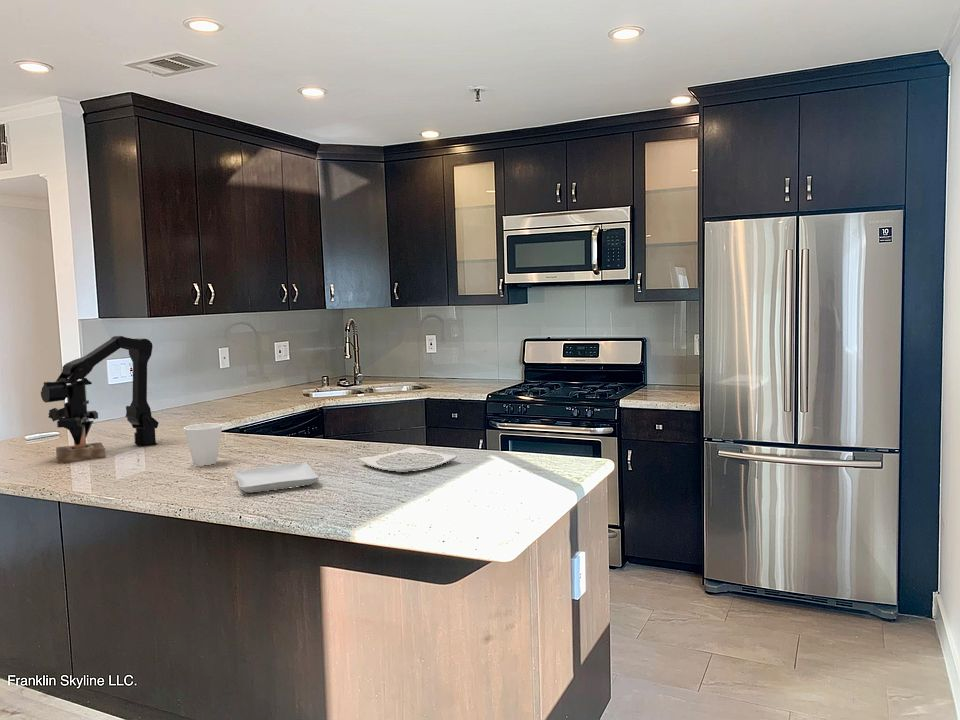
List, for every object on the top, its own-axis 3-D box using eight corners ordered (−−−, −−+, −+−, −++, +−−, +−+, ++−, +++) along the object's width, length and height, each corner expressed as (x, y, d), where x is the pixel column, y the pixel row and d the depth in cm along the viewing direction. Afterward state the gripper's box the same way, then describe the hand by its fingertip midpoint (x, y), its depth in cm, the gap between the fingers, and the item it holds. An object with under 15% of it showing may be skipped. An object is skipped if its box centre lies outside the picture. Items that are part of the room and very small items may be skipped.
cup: (232, 460, 234) (230, 423, 233) (207, 469, 222) (205, 430, 221) (203, 459, 237) (200, 422, 236) (177, 467, 226) (174, 428, 225)
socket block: (101, 451, 256) (101, 441, 255) (105, 457, 244) (104, 447, 244) (56, 456, 248) (55, 446, 248) (58, 463, 236) (57, 453, 236)
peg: (86, 451, 248) (84, 426, 248) (87, 453, 245) (85, 427, 245) (74, 453, 246) (72, 427, 246) (75, 454, 243) (73, 428, 243)
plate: (413, 453, 240) (413, 445, 239) (463, 464, 222) (463, 455, 222) (352, 466, 223) (352, 458, 222) (401, 479, 205) (401, 470, 205)
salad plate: (240, 498, 188) (239, 486, 188) (233, 481, 208) (232, 469, 207) (320, 488, 197) (320, 476, 196) (306, 472, 216) (306, 461, 216)
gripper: (64, 396, 253) (67, 439, 254) (38, 403, 234) (42, 450, 235) (97, 395, 254) (100, 438, 255) (74, 402, 236) (78, 448, 237)
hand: (80, 443), depth 246 cm, fingers closed on peg, 4 cm apart
